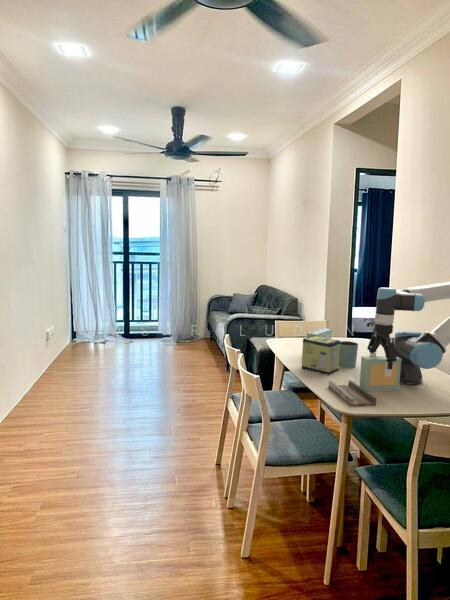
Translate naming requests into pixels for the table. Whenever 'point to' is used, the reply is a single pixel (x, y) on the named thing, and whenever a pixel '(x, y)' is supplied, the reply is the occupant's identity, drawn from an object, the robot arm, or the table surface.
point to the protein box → (320, 355)
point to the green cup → (348, 354)
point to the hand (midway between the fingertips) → (379, 371)
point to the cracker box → (379, 374)
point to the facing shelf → (353, 394)
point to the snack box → (321, 333)
